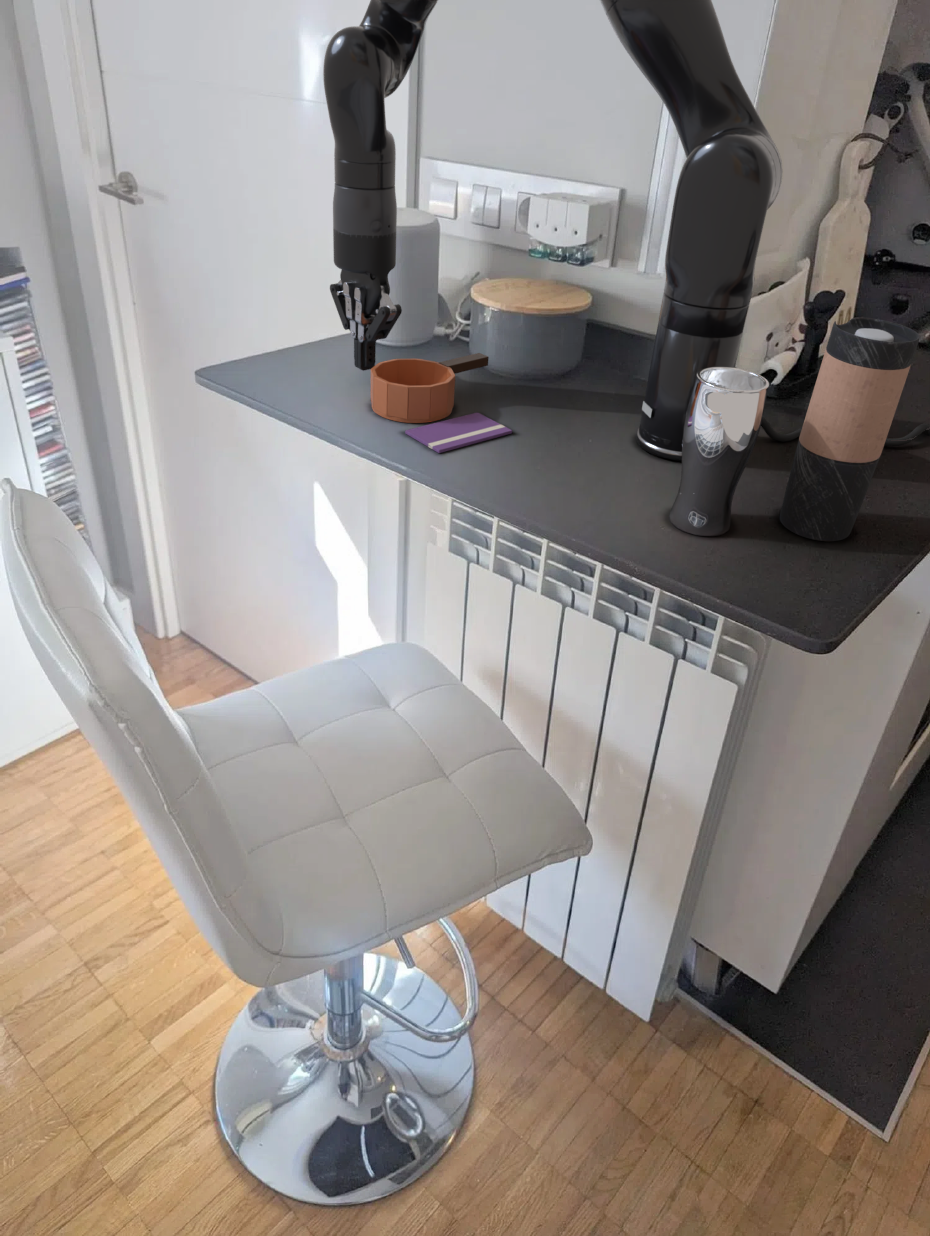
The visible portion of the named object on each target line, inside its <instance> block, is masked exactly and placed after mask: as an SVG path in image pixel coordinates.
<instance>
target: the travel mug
mask: <svg viewBox="0 0 930 1236" xmlns="http://www.w3.org/2000/svg"><path fill="white" fill-rule="evenodd" d="M919 342H920V334H919V333H918V332H917V331H915V330H914V329H912V328H910V327H908V326H905V325H902V324H899V323H896V322H892V321H888V320H885V319H884V320H883V319H879V318H871V317H853V318H850V319H849V320H848V321H847V322H845V323H842V324H837V322H836V321H833V324H832V327H831V330H830V334H829V337H828V341H827V344H826V347H825V350H824V354H823V356H822V357H823V358H822V361H821V364H820V367H819V370H818V373H817V378H816V381H815V384H814V387H813V390H812V393H811V396H810V397H811V398H810V400H809V404H808V407H807V411H806V413H805V418H804V421H803V424H802V427H801V428H802V430H801V434H800V437H798V440H797V445H796V449H795V453H794V457H793V461H792V464H791V469H790V472H789V476H788V481H787V484H786V488H785V492H784V497H783V500H782V504H781V509H780V513H779V521H780V523H781V525H782V526H783V527H785V529H787V530H788V531H790V532H792V533H793V534H795V535H798V536H800V537H803V538H806V539H810V540H814V541H820V542H837V541H843V540H845V539H847V538H848V537H849V536H850V534H851V533H852V530H853V528H854V525H855V523H856V520H857V518H858V516H859V513H860V510H861V508H862V506H863V502H864V500H865V498H866V494H867V492H868V490H869V487H870V484H871V481H872V479H873V476H874V474H875V471H876V469H877V466H878V464H879V461H880V458H881V456H882V453H883V450H884V447H885V446H884V444H885V441H886V438H888V435H889V431H890V429H891V425H892V423H893V420H894V417H895V414H896V411H897V408H898V405H899V403H900V399H901V396H902V393H903V390H904V388H905V384H906V381H907V378H908V375H909V372H910V369H911V366H912V363H913V360H914V357H915V354H916V351H917V349H918V345H919Z"/></svg>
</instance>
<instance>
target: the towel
mask: <svg viewBox="0 0 930 1236" xmlns="http://www.w3.org/2000/svg"><path fill="white" fill-rule="evenodd" d="M404 433H405V435H407V436H409V437H410V438H412V439H414V440H416V441H417V442H419V443H420V444H422V445H424V446H426V447H428V448H429V449H431V450H433V451H434V452H436V453H438V454H441V453H445V452H449V451H453V450H457V449H461V448H463V447H467V446H470V445H475V444H478V443H482V442H485V441H489V440H492V439H496V438H500V437H503V436H507V435H511V434H513V430H512V429H510V428H509V427H507V426H506V425H503V424H502V423H499V422H498V421H496V420H494V419H491V418H490V417H487V416H485V415H484V414H483V413H480V412H474V413H469V414H465V415H462V416H457V417H453V418H450V419H446V420H441V421H436V422H434V423H433V422H432V423H430V424H426V425H421V426H418V427H413V428H410V429H405V431H404Z"/></svg>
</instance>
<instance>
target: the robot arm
mask: <svg viewBox="0 0 930 1236" xmlns="http://www.w3.org/2000/svg"><path fill="white" fill-rule="evenodd" d="M438 1H439V0H370V1H369V4H368V5H367V8H366V11H365V13H364V15H363V18H362V20H361V21H360V24H359V25H358V26H357V25H356V26H347V27H344V28H342V29H340V30H338V31H337V32H336V33H334V34H333V36H332V37H331V39H330V40H329V42H328V44H327V47H326V50H325V53H324V58H323V73H322V77H323V89H324V96H325V101H326V106H327V111H328V116H329V117H328V118H329V123H330V127H331V131H332V135H333V140H334V155H333V157H334V158H333V159H334V160H333V161H334V169H333V170H334V188H333V189H334V190H333V200H332V237H333V238H332V239H333V240H332V241H333V242H332V244H333V245H332V246H333V264H334V265H335V267H336V268H337V269H339V270H340V273H339V275H340V276H339V279H340V280H339V281H338V282H336V283H331V284H330V285H329V291H330V294H331V297H332V299H333V302H334V303H333V304H334V305H335V308H336V311H337V314H338V316H339V319H340V322H341V324H342V328H343V329H344V330H345V331H348V330H349V333H350V337H351V338H352V339H353V361H354V362H353V363H354V367H355V368H357V369H358V370H360V371H363V372H364V371H370V370H371V368H373V367H374V366H375V365H376V353H377V352H376V348H377V347H376V344H377V341H378V340H383V339H384V340H385V339H387V338H388V336H389V334H390V333H391V331H392V330H393V328H394V326H395V325H396V323H397V321H398V319H399V318H400V316H401V315H402V311H403V309H402V306H401V304H399V303H396V304H394V303H393V301H392V299H391V297H390V293H391V285H390V282H389V274H390V272H391V271H392V270H394V269H395V267H396V264H397V225H398V224H397V221H398V220H397V219H398V218H397V217H398V206H397V205H398V203H397V195H396V160H397V153H396V151H397V149H396V141H395V138H394V135H393V134H392V132H391V131H389V130H388V129H387V119H386V103H385V99H386V98H388V97H390V96H392V94H394V93H395V92H396V91H397V89H398V88H399V87H400V85H401V84H402V82H403V81H404V79H405V78H406V76H407V74H408V72H409V70H410V68H411V66H412V64H413V61H414V58H415V56H416V53H417V50H418V48H419V45H420V43H421V40H422V37H423V34H424V32H425V31H424V30H425V28H426V24H427V21H428V19H429V17H430V15H431V14H432V12H433V10H434V8H435V7H436V5H437V4H438ZM599 2H600V4H601V6H602V9H603V11H604V14H605V15H606V18H607V20H608V22H609V24H610V26H611V28H612V30H613V32H614V33H615V35H616V37H617V39H618V40H619V43H620V44H621V46H622V47H623V48H624V50H625V52H626V53H627V54H628V56H629V57H630V59H631V60H632V61H633V63H634V64H635V66H636V67H637V68H638V70H639V71H640V72H641V74H642V75H643V77H644V78H645V79H646V80H647V81H648V83H649V84H650V86H651V88H653V89H654V91H655V92H656V93H657V95H658V97H659V98H660V100H661V102H663V104H664V106H665V107H666V110H667V112H668V114H669V115H670V118H671V120H672V122H673V125H674V127H675V130H676V132H677V135H678V138H679V141H680V143H681V146H682V148H683V149H682V150H683V152H684V155H685V161H684V163H683V165H682V166H681V170H680V173H679V176H678V180H677V183H676V188H675V192H674V198H673V202H672V203H673V204H672V211H671V217H670V223H669V228H668V237H667V243H666V249H665V257H664V269H665V280H664V281H665V282H664V288H663V292H662V293H663V294H662V299H661V304H660V311H659V316H658V321H657V326H656V333H655V339H654V344H653V350H652V354H651V360H650V366H649V371H648V377H647V383H646V388H645V394H644V399H643V401H642V407H641V416H640V421H639V427H638V429H637V433H636V438H635V441H636V444H637V445H638V446H639V447H640V448H641V449H643V450H644V451H646V452H647V453H648V454H649V453H650V454H651V455H654V456H657V457H659V458H664V459H667V460H672V461H680V462H682V441H683V429H684V423H685V417H686V413H687V408H688V404H689V401H690V397H691V394H692V390H693V387H694V384H695V381H696V377H697V373H698V371H699V370H701V369H703V368H707V367H733V368H737V367H736V364H737V360H738V355H739V353H740V352H739V351H740V347H741V343H742V338H743V335H744V330H745V325H746V320H747V318H748V317H747V316H748V313H749V308H750V305H751V304H750V303H751V300H752V296H753V292H754V287H755V281H756V278H755V271H756V261H757V257H758V251H759V247H760V243H761V239H762V234H763V230H764V225H765V221H766V216H767V213H768V210H769V209H770V208H771V206H772V205H773V204H774V202H775V201H776V199H777V198H778V195H779V192H780V190H781V187H782V183H783V172H784V171H783V162H782V158H781V153H780V152H779V151H780V150H779V149H778V147H777V145H776V143H775V141H774V140H773V137H772V136H771V133H769V131H768V129H767V128H766V125H765V124H764V122H763V120H762V119H761V117H760V115H759V114H758V111H757V110H756V108H755V106H754V104H753V102H752V100H751V98H750V96H749V95H748V93H747V90H746V89H745V86H744V85H743V83H742V81H741V79H740V77H739V74H738V72H737V70H736V68H735V65H734V63H733V60H732V58H731V55H730V52H729V48H728V46H727V43H726V39H725V36H724V33H723V29H722V27H721V24H720V21H719V17H718V16H717V12H716V8H715V6H714V3H713V0H599ZM929 427H930V424H929V423H927V422H925V423H920V424H919V425H917V426H916V427H915V428H914V429H913V430H912V431H910V432H909V433H908V434H906V435H905V436H902V437H899V438H898V437H897V438H888V437H887V438H886V441H885V444H884V447H900V446H904V445H906V444H909V443H911V442H913V441H914V440H915V439H916V438H918V437H919V436H920V435H922V433H923V432H924V434H925V435H927V436H930V429H929V430H926V429H927V428H929ZM760 428H762V430H763V431H764V433H765V434H766V435H767V437H769V438H770V439H772V440H774V441H777V442H782V443H784V442H791V441H794V440H795V439H799V437H800V434H801V430H802V427H800V428H797V429H795V430H794V431H792V432H789V433H780V432H777V431H776V430H775V429H774V428H773V426H772V424H771V423H770V422H769V421H768V420H767V419H766V418H765V417H764V416H763V419H762V423H761V427H760ZM924 430H925V431H924ZM918 435H919V436H918ZM915 436H918V437H916V438H915V439H912V440H907V441H891V440H906V439H909V438H914V437H915ZM888 440H889V441H888Z"/></svg>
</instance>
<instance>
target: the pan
mask: <svg viewBox="0 0 930 1236" xmlns="http://www.w3.org/2000/svg"><path fill="white" fill-rule="evenodd" d="M489 359H490V358H489V355H486V354H483V353H480V352H477V353H473V354H469V355H464V356H460V357H456V358H451V359H447V360H442V361H435V360H428V359H423V358H412V357H411V358H393V359H388V360H384V361H380V362H378V363H376V364H375V366H374V367H373V368H371V369H370V402H371V409H372V411H373V412H374V413H375V414H376V415H378V416H380V417H382V418H383V419H386V420H389V421H394V422H398V423H400V422H401V423H406V424H426V423H433V422H439V421H440V420H441V421H442V420H444V419H446V418H447V417H449V416H450V415H451V413H452V412H453V408H454V405H455V391H456V390H455V389H456V374H459V373H463V372H468V371H471V370H476V369H480V368H485V367H488V366H489Z"/></svg>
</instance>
